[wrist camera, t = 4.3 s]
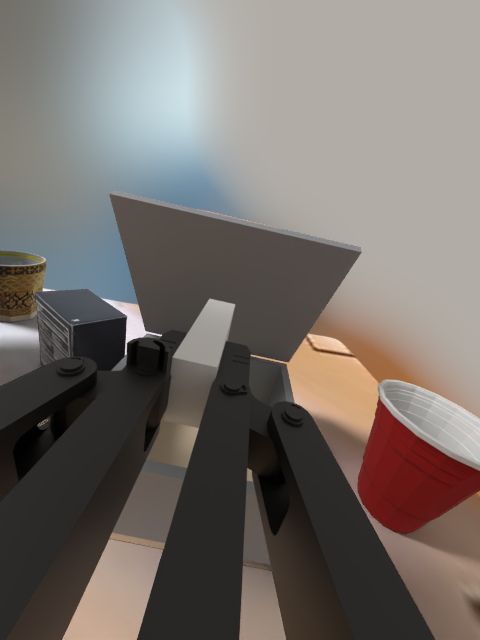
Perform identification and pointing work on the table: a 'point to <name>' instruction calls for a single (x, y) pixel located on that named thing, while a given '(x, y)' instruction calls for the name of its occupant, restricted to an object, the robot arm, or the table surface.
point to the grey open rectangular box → (170, 468)
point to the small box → (80, 328)
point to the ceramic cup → (20, 284)
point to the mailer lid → (228, 272)
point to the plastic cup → (418, 457)
